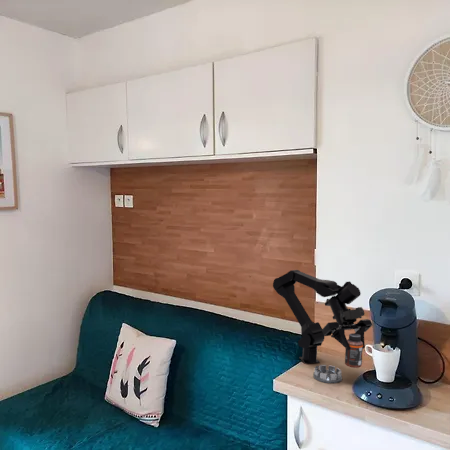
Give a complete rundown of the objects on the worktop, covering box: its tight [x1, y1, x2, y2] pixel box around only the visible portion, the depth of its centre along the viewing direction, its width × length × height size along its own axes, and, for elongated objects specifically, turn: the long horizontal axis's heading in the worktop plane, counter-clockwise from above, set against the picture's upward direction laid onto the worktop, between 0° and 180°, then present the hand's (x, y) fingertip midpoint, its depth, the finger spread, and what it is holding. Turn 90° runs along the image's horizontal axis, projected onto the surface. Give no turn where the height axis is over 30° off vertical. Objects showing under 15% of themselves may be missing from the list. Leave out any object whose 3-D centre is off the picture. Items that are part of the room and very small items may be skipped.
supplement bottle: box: [344, 332, 364, 369], centre depth 164 cm, size 6×6×11 cm
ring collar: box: [313, 364, 343, 384], centre depth 169 cm, size 10×10×3 cm
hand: (356, 348), depth 162 cm, fingers closed on supplement bottle, 6 cm apart
